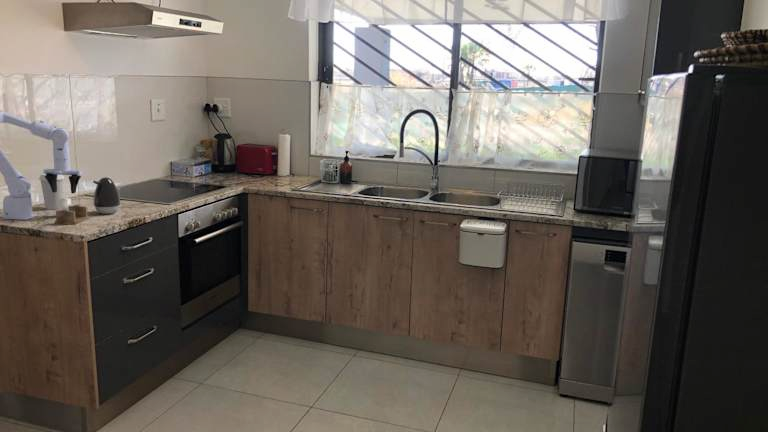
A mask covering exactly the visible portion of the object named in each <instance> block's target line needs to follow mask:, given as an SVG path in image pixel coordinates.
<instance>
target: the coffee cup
mask: <svg viewBox="0 0 768 432" xmlns="http://www.w3.org/2000/svg"><path fill="white" fill-rule="evenodd" d="M45 176H46V174H44V173H41V174H40V175H39V178H38V179H39V181H40V184H41V185H40V186H41V191H42V196H43V202H44V207H45V209H46V210H47V211H48V210H50V211H52V210H53V211H57V210H58V205H57V199H61V198H64V179H65V175H57V192H54V193H53V192H52V189H51V186H50V184H49V182H48V181H47V179H46V178H45Z"/></svg>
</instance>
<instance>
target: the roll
mask: <svg viewBox="0 0 768 432" xmlns="http://www.w3.org/2000/svg"><path fill="white" fill-rule="evenodd" d="M57 205H58V209H57V210H60V211H62V209H68V206H73V205H72V198H69V197H63V198H61V199H57Z"/></svg>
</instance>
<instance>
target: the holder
mask: <svg viewBox="0 0 768 432" xmlns="http://www.w3.org/2000/svg"><path fill="white" fill-rule="evenodd" d="M55 216H56V217H55V218H56V220H54V224H55V225H57V224H58V225H73V226H75V225H78V224H79V223H82V222H84V221H86V220H87V221H88V220H90V215H88V207H87V206H86V205H85V206H82V204H73V205H72V206H68V209H62V211H60V210H58V209H57V210H55Z"/></svg>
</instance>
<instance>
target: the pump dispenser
mask: <svg viewBox="0 0 768 432" xmlns="http://www.w3.org/2000/svg"><path fill="white" fill-rule="evenodd" d="M92 183H94V184H96V187H95V190H94V194H93V195H94V196H93V206H94V207H95V210H96V212H98V213H99V214H101V215H111V214H115V213H116V212H117V211H119V208H120V206H121V199H120V194H119V191H118V188H117V186H116V184H115V183H114V181H113V180H112V178H109V177H106V176H105V177H101V178H100V179H99V180H98V181H97V180H93V182H92Z"/></svg>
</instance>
